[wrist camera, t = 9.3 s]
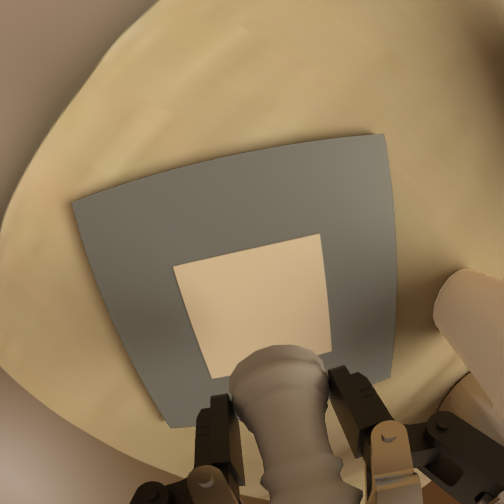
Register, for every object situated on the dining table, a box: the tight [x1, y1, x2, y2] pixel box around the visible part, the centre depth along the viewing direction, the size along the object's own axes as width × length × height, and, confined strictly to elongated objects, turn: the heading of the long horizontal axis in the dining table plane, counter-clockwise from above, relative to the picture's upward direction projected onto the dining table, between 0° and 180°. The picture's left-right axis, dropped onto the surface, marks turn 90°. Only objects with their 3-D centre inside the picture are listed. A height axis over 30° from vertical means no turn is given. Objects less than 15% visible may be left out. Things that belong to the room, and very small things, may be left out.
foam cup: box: [433, 268, 504, 422], centre depth 15 cm, size 10×9×13 cm
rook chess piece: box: [229, 345, 363, 504], centre depth 9 cm, size 4×4×8 cm
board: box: [71, 134, 397, 428], centre depth 19 cm, size 20×20×1 cm
